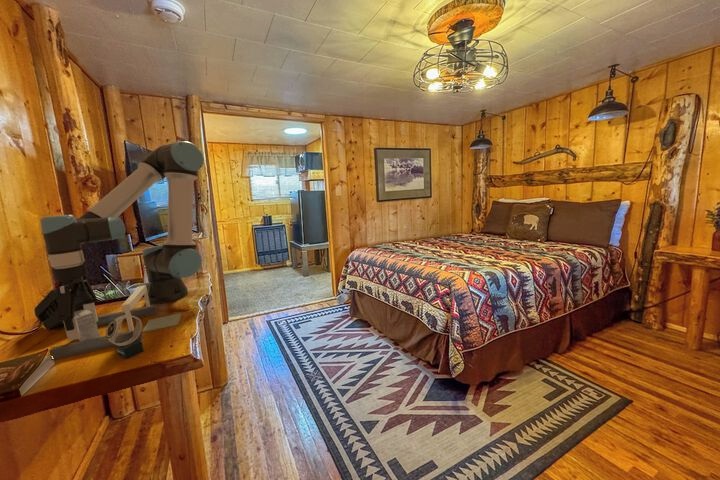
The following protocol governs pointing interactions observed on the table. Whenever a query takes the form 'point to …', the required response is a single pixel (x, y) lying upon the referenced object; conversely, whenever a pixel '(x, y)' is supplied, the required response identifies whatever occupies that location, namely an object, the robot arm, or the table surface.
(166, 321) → the mat
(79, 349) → the rails
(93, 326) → the medicine box
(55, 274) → the robot arm
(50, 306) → the tool
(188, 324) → the table surface
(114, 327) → the watch
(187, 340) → the table surface
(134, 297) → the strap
